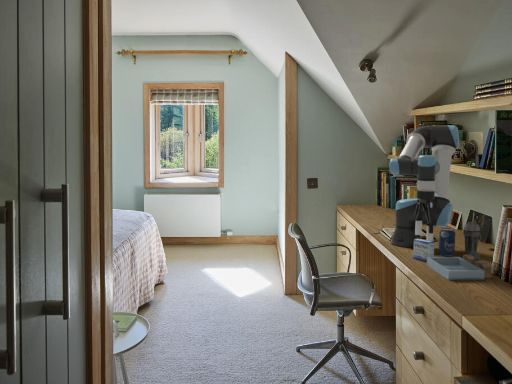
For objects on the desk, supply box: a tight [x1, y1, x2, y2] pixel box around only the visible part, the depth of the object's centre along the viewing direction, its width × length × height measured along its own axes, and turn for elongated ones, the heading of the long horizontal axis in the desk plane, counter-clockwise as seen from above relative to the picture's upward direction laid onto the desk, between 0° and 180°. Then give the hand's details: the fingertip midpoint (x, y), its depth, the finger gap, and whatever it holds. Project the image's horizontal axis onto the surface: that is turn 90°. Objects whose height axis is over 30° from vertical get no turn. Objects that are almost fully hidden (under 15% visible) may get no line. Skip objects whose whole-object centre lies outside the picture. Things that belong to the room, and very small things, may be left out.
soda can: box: [438, 227, 456, 257], centre depth 232 cm, size 7×7×12 cm
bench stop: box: [462, 251, 492, 279], centre depth 202 cm, size 18×3×8 cm, turn 2°
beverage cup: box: [463, 211, 481, 256], centre depth 231 cm, size 7×7×20 cm
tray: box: [426, 256, 485, 281], centre depth 202 cm, size 22×14×4 cm, turn 2°
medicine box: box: [412, 238, 435, 262], centre depth 224 cm, size 8×4×9 cm, turn 45°
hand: (423, 237), depth 223 cm, fingers open, 13 cm apart
